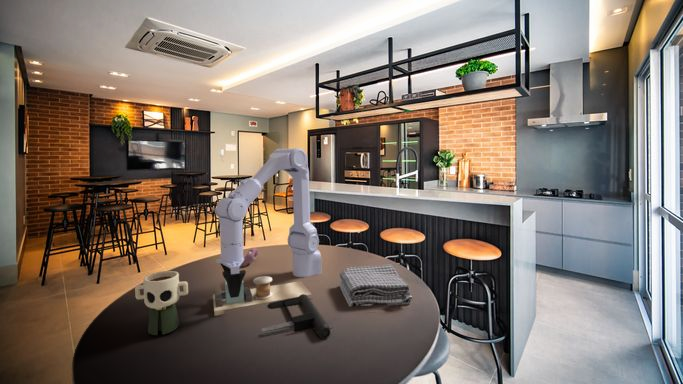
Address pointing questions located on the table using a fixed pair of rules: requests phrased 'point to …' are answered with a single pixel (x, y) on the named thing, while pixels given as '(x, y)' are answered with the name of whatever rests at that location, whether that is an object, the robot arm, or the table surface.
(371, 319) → the table surface
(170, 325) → the character mug
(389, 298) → the towel
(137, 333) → the table surface
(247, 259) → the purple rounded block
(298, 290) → the winding board
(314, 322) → the door handle
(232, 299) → the pale blue block
